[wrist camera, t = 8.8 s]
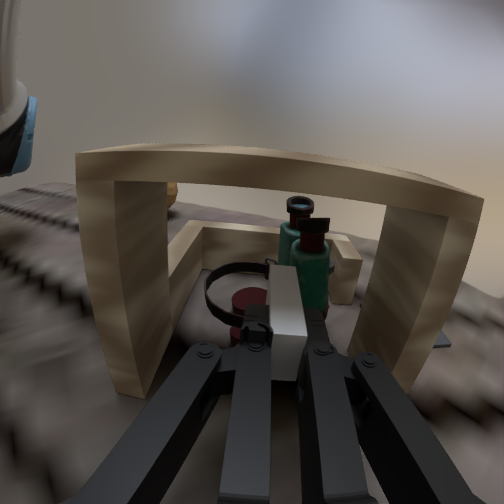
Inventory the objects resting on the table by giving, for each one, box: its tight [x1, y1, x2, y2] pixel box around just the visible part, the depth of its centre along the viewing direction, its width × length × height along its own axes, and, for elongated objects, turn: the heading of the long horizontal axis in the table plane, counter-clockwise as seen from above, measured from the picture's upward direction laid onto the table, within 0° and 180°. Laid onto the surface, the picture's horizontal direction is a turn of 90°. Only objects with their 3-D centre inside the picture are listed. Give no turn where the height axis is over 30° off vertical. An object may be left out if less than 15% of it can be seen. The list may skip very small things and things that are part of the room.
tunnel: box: [75, 144, 484, 399], centre depth 22 cm, size 18×21×14 cm
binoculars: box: [204, 196, 335, 347], centre depth 22 cm, size 9×11×10 cm
